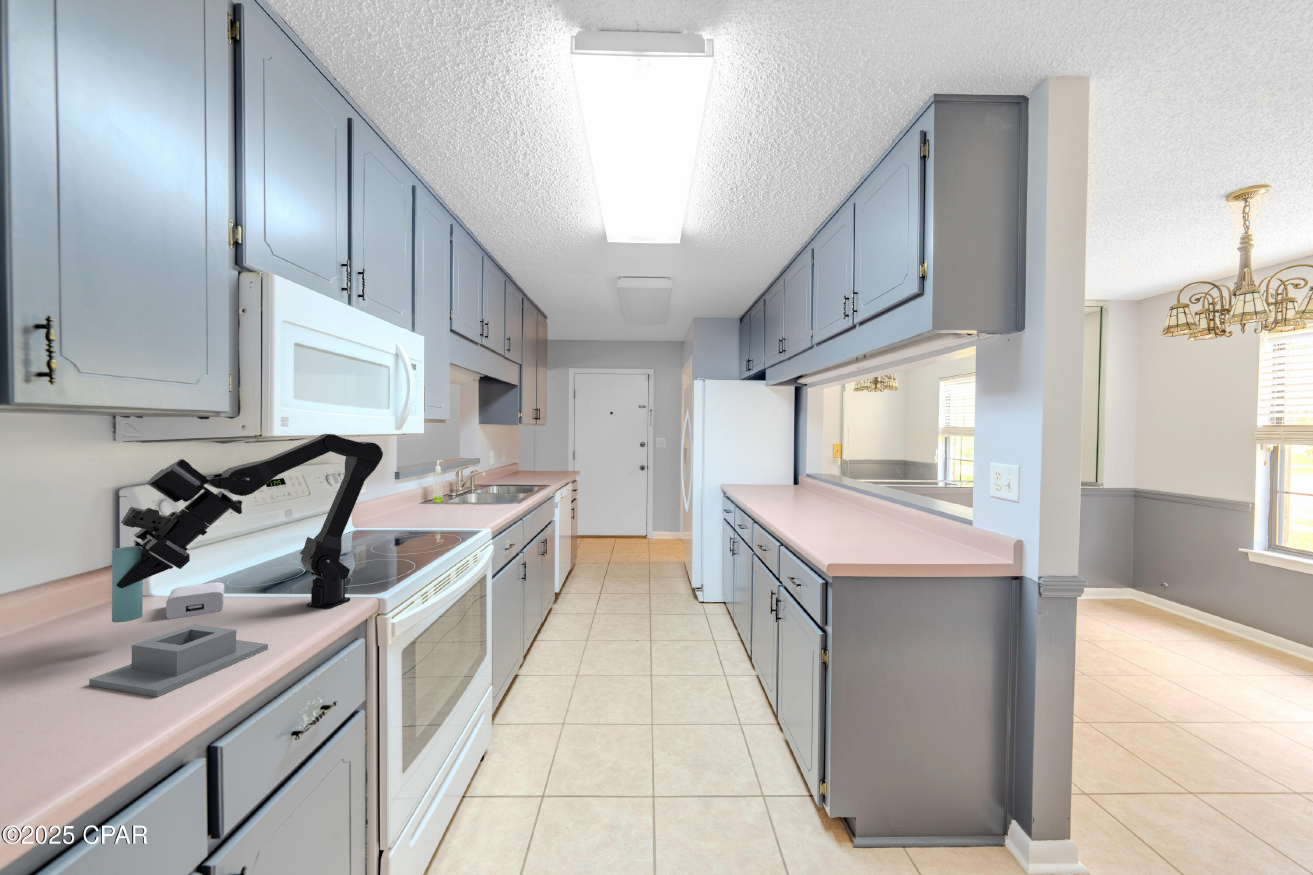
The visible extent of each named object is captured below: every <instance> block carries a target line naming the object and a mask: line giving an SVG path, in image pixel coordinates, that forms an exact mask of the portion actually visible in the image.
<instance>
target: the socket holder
mask: <svg viewBox="0 0 1313 875" xmlns="http://www.w3.org/2000/svg"><path fill="white" fill-rule="evenodd" d="M267 649H268V650H269V644H268V643H262V642H257V641H256V642H255V641H249V640H243V639H242V640H241V639H237V629H233V628H226V627H219V626H212V625H211V626H210V625H203V624H202V625H201V624H195V623H194V624H191V625H187V626H185V627H182V628H179V629H175V630H173V631H170V632H167V633H163V634H161V635H158V636H154V637H151V638H149V639H146V640H143V641H140V642H137V643H134V644H131V663H130V664H127V665H125V666H122V667H119V668H116V669H114V670H110V671H108V672H105V673H102V674H99V675H96V676H94V677H91V678H89V680H88V682H89V683H88V684H89V686H92V687H98V688H103V689H109V690H114V691H121V692H126V693H132V694H137V695H138V694H139V695H144V696H148V697H149V696H150V697H157V698H158V697H160V696H163V695H166V694H168V693H170V692H172V691H175V690H177V689H178V688H181V687H184V686H186V685H188V684H191V683H193V682H196V681H198V680H200V679H202V678H205V677H207V676H209V675H212V674H214V673H216V672H218V671H221V670H223V669H226V668H228V667H230V666H232V665H236V664H237V663H240V662H242V661H245V660H247V659H248V658H247V657H249V658H250V656H251V657H253V656H252V655H254V654H256V653H258V654H261V653H262V652H261V651H263V652H265V651H267ZM264 650H265V651H264ZM260 652H261V653H260ZM256 655H257V654H256ZM254 656H255V655H254ZM246 658H247V659H246ZM239 661H240V662H239Z"/></svg>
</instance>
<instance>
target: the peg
mask: <svg viewBox="0 0 1313 875" xmlns="http://www.w3.org/2000/svg"><path fill="white" fill-rule="evenodd" d="M140 547H142V546H132V545H131V546H123V547H117V548H113V549H112V550H111V622H112V623H125V622H130V621H131V622H132V621H135V620H138V619H140V618H143V614H144V613H143V605H144V602H143V597H144V595H143V594H144V593H143V591H144V590H143V588H144V587H143V586H144V583H143V582H144V579H143V580H141V581H139V582H136V583H134V584H131V585H129V586H127V587H124V588H119V587H117V586H116V584H117V583H118V582H119V580H120V579H121V578H122V577H123V576H124V575H125V574H126V573H127V572H128V570H129V569H130V568H131V567H132V566H133V565H134V564H135V563H136V562H137V561H138V559H139V558H140Z"/></svg>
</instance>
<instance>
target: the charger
mask: <svg viewBox="0 0 1313 875" xmlns="http://www.w3.org/2000/svg"><path fill="white" fill-rule="evenodd" d="M224 600H225V583H223V582H217V581H216V582H208V583H202V584H201V583H200V584H193V585H192V584H191V585H184V586H178V587H175V588H173V589H172V590H171V591H170V594H169V596H168V597H167V600H166V601H165V606H166V607H165V617H166V618H167V619H168V620H169V619H170V620H171V619H173V620H174V619H178V618H179V619H180V618H184V617H191V616H192V615H193V616H199V615H205V614H213V613H218V612H221V611H222V610H223V608H224Z"/></svg>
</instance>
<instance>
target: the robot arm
mask: <svg viewBox="0 0 1313 875" xmlns="http://www.w3.org/2000/svg"><path fill="white" fill-rule="evenodd" d="M327 453H334V454H337V455H339V456H343V457H345V459H344V476H343V478H342V479H341V480H342V481H341V483H340V485H339V488H338V490H337V492H336V494H335V497H334V499H333V501H332V503H331V506H330V508H329V510H328V513H327V515H326V518H325V520H324V522H323V525H322V527H321V530H319V532H318V533H317V534H316V535H315V537H313V538H312V537H309V536H307V537H306V539H305V543H304V546H303V548H302V549H301V551H300V552H299V555H300V556H301V557H300V563H301V565H302V566H303V568H304V569H306V570H307V571H309V572H310V575H311V576H312V577H315V578H314V579H312V586H311V588H310V589H311V590H310V591H311V592H310V594H311V595H310V602H307V603H306V606H307V607H315V608H322V609H323V608H324V609H332V608H334V607H335V606H336V607H337V606H338V605H341V604H344V603H346V602H349V601H351V600H350V599H351V597H347V596H346V579H348V577H349V574H350V571H351V569H350V568H349V567H347V565H344V564H343V563H342V562H340V560H341V554H342V551H343V550H342V545H343V544H342V541H343V540H342V537H343V535H344V532H345V529H346V527H347V525H348V522H349V519H350V518H351V515H352V512H353V511H354V508H355V505H356V504H357V501H358V498H359V496H360V494H361V491H362V490H363V489H362V488H363V486H364V484H365V482H366V480H367V479H368V478H369V477H370V476H371V474H373V472H374V471H376V469H377V467H378V465H380V463H381V461H382V459H383V456H384V452H383V450H382V448H381V446H379V444H378V443H376V442H373V441H372V442H371V441H355V440H352V439H348V438H346V437H342V436H339V435H337V434H334V433H321V434H320V435H318V436H317V437H315V438H313V439H311V440H308V441H306V442H303V443H301V444H299V445H296V446H294V447H292V448H289V449H287V450H284V451H282V452H280V453H278V454H276V455H273V456H271V457H267V458H265V459H260V460H257V461H251V462H247V463H242V464H238V465H235V466H230V467H228V468H227V469H225V470H223V471H222V472H221V473H216V474H207V475H204V474H203V473H201V472H200V471H198V470H197V469H196V468H194V467H193V466H192V465H191V464H190V463H189V462H188V461H187V460H185V459H183V458H180V459H178V460H176V462H174V463H172V464H169V465H168V466H166V467H164V468H161V470H159V471H157V473H155V474H154V475H153V476H152V477H151V478H149V480H148V481H147V482H146V484H147V485H148V486H149V487H151V488H152V489H154V490H155V491H157V492H158V493H160V494H162V495H163V496H164V497H166V498H167V499H169V500H170V501H172V502H173V503H178V502H181V501H183V502H184V503H187V502H188V503H187V504H186V505H185V506H184V507H183V508H182V509H180V510H179V511H171V512H170V513H169V514H168V515H164V514H160V510H159V509H155V508H154V509H153V508H151V507H146V508H145V509H142V508H138V507H133V506H130V507H129V509H128V510H127V512H126V514H125V515H124V517H123V518H122V520H121V521H120V523H121V524H122V525H123V526H125V527H129V528H139V530H138V531H137V532H135V533H134V534H133V536H134V537H135V538H136V539H138V540H139V539H140V541H138V540H136V539H134V541H133V544H134V546H142V547H140V558H139V559H138V561H137V562H136V563H135V564H134V565H133V566H132V567H131V568H130V569H129V570H128V572H127V573H126V574H125V575H124V576H123V577H122V578H121V579H120V580H119V582H118V583H117V584H116V586H117V587H119V588H124V587H127V586H129V585H131V584H134V583H136V582H139V581H141V580H143V581H144V580H145V579H148V578H151V577H153V576H155V575H157V574H160V573H163V572H165V571H167V570H172V569H174V568H177V569H179V570H182V568H184V567H185V566H186V565H187V564H188V563H189V562H190V560H191V558H190V557H191V554H190V553H189V552H188V551H187V550H188V549H189V548H188V546H189V545H190V544H191V543H193V542H194V541H195V540H196V539H197V538H198V537H200V536H205V535H206V534H207V533H208V531H207V530H208V529H209V528H210V527H211V526H212V525H213V524H215V522H217V521H218V520H219V519H221V517H223V516H224V515H225V514H226V513H227V512H229V510H231V512H233V513H236V514H238V515H241V514H243V510H242V509H243V508H242V505H243V500H240V499H235V500H234V499H233V498H231V497H230V496H228V494H232V495H234V496H239V497H247V496H249V495H252V494H254V493H255V492H257V491H258V490H260V489H261V488H263V487H264V486H266V485H268V484H269V483H270V482H271V481H273V479H274V478H276V477H278V476H279V475H280V474H281V475H282V474H284V473H286V472H288V471H289V470H292V469H295V468H297V467H300V466H301V465H304V464H306V463H308V462H311V461H313V460H315V459H317V458H319V457H321V456H324V455H325V454H327ZM206 485H207V486H209V487H212V488H215V489H218V490H223V491H225V492H227V493H228V494H226V493H225V492H223V491H220V492H217V493H215V492H213V491H211V489H209V488H208V487H206ZM193 498H194V499H193Z"/></svg>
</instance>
